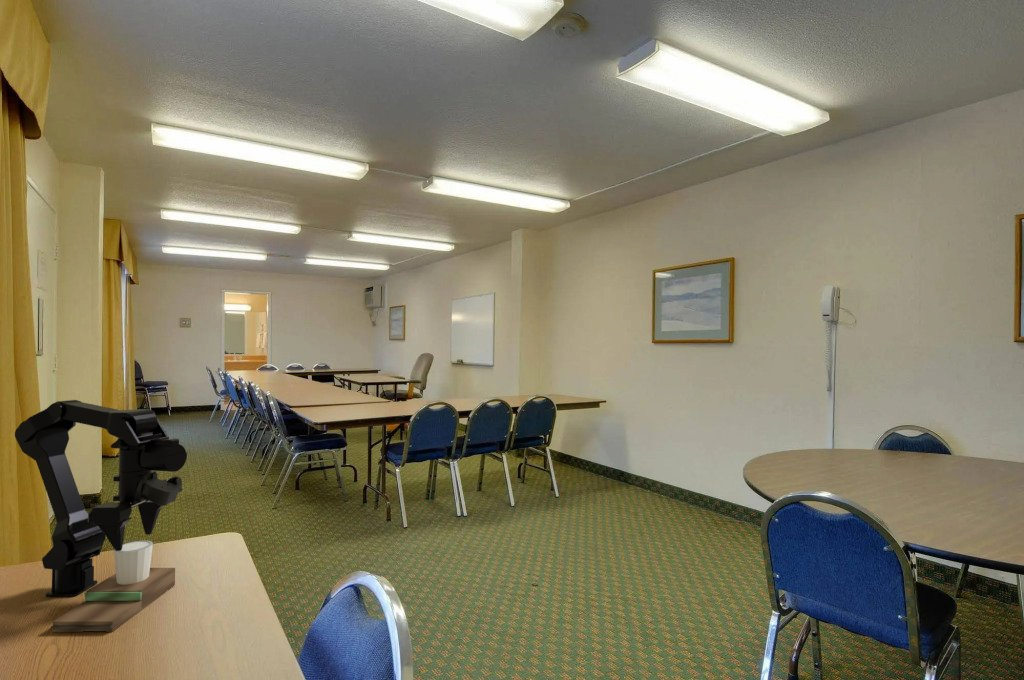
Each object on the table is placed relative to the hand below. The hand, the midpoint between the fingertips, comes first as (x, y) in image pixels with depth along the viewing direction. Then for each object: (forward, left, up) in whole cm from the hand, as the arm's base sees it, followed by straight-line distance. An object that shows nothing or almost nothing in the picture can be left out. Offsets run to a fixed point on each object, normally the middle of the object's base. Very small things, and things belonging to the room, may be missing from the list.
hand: (134, 542), depth 111 cm
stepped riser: (0, -4, -12) cm, 12 cm away
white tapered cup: (0, 0, -8) cm, 8 cm away
